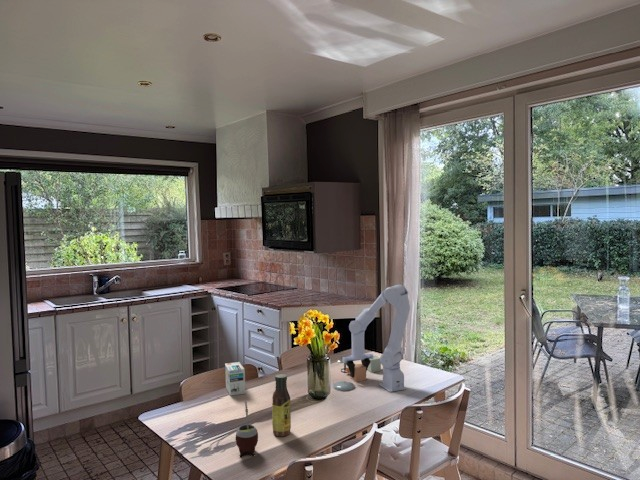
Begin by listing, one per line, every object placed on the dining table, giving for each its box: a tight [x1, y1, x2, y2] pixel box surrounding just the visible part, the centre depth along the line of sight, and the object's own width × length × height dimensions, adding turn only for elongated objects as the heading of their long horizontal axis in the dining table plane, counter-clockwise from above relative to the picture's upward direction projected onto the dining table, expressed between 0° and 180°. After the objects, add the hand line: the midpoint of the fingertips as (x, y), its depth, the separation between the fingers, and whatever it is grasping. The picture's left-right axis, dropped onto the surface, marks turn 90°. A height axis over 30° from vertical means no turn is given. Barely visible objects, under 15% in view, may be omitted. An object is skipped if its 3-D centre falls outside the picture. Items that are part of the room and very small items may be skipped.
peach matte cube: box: [350, 363, 367, 383], centre depth 210 cm, size 5×5×6 cm
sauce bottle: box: [271, 373, 292, 437], centre depth 159 cm, size 6×6×20 cm
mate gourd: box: [235, 399, 259, 458], centre depth 147 cm, size 8×8×15 cm
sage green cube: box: [367, 355, 382, 373], centre depth 222 cm, size 5×5×6 cm
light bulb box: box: [224, 361, 246, 396], centre depth 199 cm, size 11×7×11 cm, turn 22°
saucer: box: [332, 380, 355, 392], centre depth 201 cm, size 9×9×1 cm
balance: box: [336, 356, 350, 374], centre depth 221 cm, size 13×4×6 cm, turn 22°
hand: (358, 376), depth 210 cm, fingers closed on peach matte cube, 5 cm apart
